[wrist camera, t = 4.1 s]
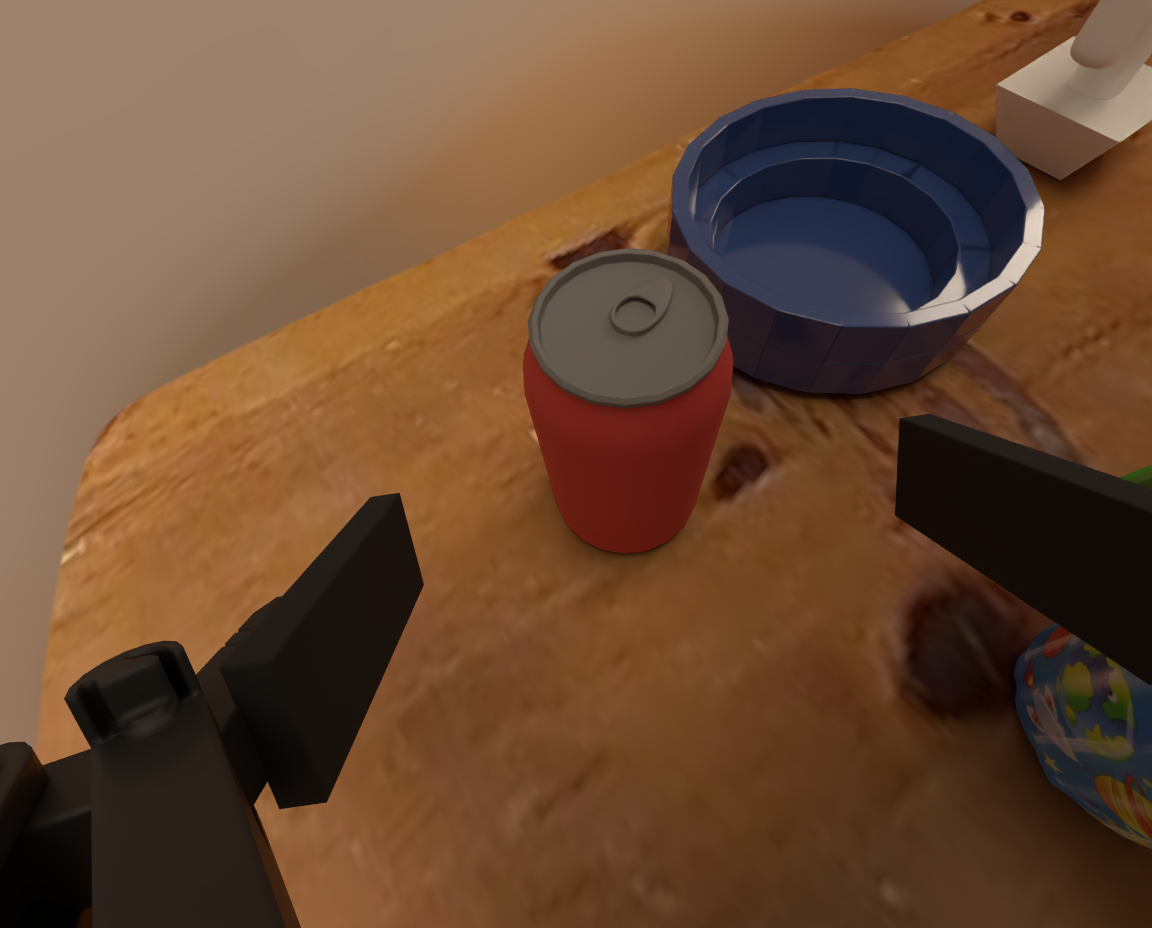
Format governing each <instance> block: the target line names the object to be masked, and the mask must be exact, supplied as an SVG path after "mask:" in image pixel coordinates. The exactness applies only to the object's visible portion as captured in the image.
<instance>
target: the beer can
mask: <svg viewBox="0 0 1152 928" xmlns="http://www.w3.org/2000/svg"><path fill="white" fill-rule="evenodd" d="M728 322H729V319H728V315H727V312H726V309H725V305H724V302H723V299H722V296H721V294H720V293H719V292H718V290H717V289H716V288H715V287H714V285H713V284H712V283H711V281H710V280H709V279H708V278H707V276H706V275H704V274H703V273H701V272H700V271H698V270H697V269H695V268H694V267H692V266H691V265H689V264H688V263H687V262H685V261H684V260H681V259H678V258H675V257H672V256H669V255H666V254H663V253H660V252H657V251H650V250H639V249H621V250H613V251H606V252H600V253H597V254H594V255H592V256H589V257H586V258H584V259H581V260H579V261H576V262H573V263H572V264H570V265H569V266H568V267H566V268H565V269H563V270H562V271H561V272H559V273H558V274H556V275H555V276H554V277H552V278H551V279H550V280H549V282H548V283H547V284H546V285H545V287H544V288H543V289H542V291H541V292H540V293H539V294H538V296H537V297H536V298H535V301H534V305H533V308H532V311H531V314H530V317H529V320H528V327H529V340H528V343H527V346H526V349H525V352H524V362H523V374H524V389H525V396H526V400H527V403H528V407H529V410H530V414H531V417H532V420H533V424H534V427H535V431H536V434H537V438H538V441H539V445H540V448H541V452H542V455H543V458H544V462H545V465H546V469H547V472H548V476H549V479H550V483H551V486H552V490H553V493H554V496H555V500H556V503H557V506H558V508H559V510H560V512H561V514H562V517H563V519H564V521H565V523H566V524H567V525H568V526H569V527H570V528H571V529H572V530H573V531H574V532H575V533H576V534H577V536H578V537H579V538H580V539H582V540H584V541H586V542H588V543H590V544H591V545H593V546H595V547H597V548H599V549H601V550H606V551H612V552H617V553H623V554H625V553H634V552H642V551H648V550H650V549H652V548H654V547H657V546H659V545H661V544H663V543H665V542H668V541H669V540H670V539H671V538H672V537H673V536H674V535H675V534H676V533H677V532H678V531H680V530H681V529H682V528H683V527H684V526H685V524H686V522H687V520H688V518H689V516H690V514H691V512H692V510H693V508H694V506H695V503H696V500H697V497H698V493H699V490H700V487H701V484H702V481H703V478H704V475H705V472H706V469H707V465H708V462H709V459H710V456H711V453H712V450H713V447H714V444H715V441H716V437H717V434H718V431H719V428H720V425H721V422H722V419H723V416H724V413H725V409H726V406H727V403H728V400H729V397H730V392H731V382H732V373H733V356H732V350H731V347H730V343H729V340H728V336H727V330H728Z"/></svg>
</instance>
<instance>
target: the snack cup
mask: <svg viewBox="0 0 1152 928" xmlns="http://www.w3.org/2000/svg"><path fill="white" fill-rule="evenodd" d="M1121 479H1124V480H1127V481H1130V482H1133V483H1136V484H1139V485H1142V486H1145V487H1148V488H1151V489H1152V465H1150V466H1148V467H1145V468H1142V469H1139V470H1137V471H1135V472H1132V473H1130V474H1128V475H1126V476H1123V477H1121ZM1013 676H1014V678H1015V679H1016V687H1017V692H1016V695H1015V703H1016V710H1017V713H1018V716H1019V719H1020V721H1021V723H1022V726H1023V728H1024V731H1025V733H1026V736H1027V738H1028V740H1029V742H1030V743H1031V744H1032V746H1033V747H1034V749H1035V752H1036V755H1037V757H1038V759H1039V762H1040V765H1041V766H1042V768H1043V770H1044V773H1045V775H1046V777H1047V779H1048V780H1049V782H1050V783H1051V784H1052V785H1054V786H1055V787H1056V788H1058V789H1059V790H1061V791H1063V792H1064V793H1065V794H1067V795H1068V796H1069V797H1070V798H1072V799H1073V800H1074V801H1075V802H1077V803H1078V804H1079V805H1080V806H1081V807H1082V808H1083V809H1084V810H1085V811H1087V812H1088V813H1089V814H1091V815H1092V816H1093V817H1095V818H1096V819H1097V820H1099V821H1100V822H1101V823H1103V824H1104V825H1105V826H1107V827H1109V828H1110V829H1112V830H1114V831H1115V832H1117V833H1119V834H1120V835H1122V836H1123V837H1125V838H1127V839H1129V840H1131V841H1134V842H1136V843H1138V844H1140V845H1143V846H1145V847H1147V848H1150V849H1152V685H1148V684H1147V683H1145V682H1144V681H1142V680H1141V679H1139V678H1138V677H1136V676H1135V675H1133V674H1132V673H1130V672H1129V671H1127V670H1126V669H1124V668H1123V667H1121V666H1120V665H1118V664H1117V663H1115V662H1114V661H1112V660H1111V659H1109V658H1108V657H1106V656H1105V655H1103V654H1102V653H1100V652H1099V651H1097V650H1096V649H1094V648H1093V647H1091V646H1090V645H1088V644H1087V643H1085V642H1084V641H1082V640H1081V639H1079V638H1078V637H1076V636H1075V635H1073V634H1072V633H1070V632H1069V631H1067V630H1066V629H1064V628H1063V627H1061V626H1060V625H1058V624H1057V623H1055V624H1052V625H1050V626H1049V627H1047V628H1045V629H1044V630H1043V631H1042V632H1041V633H1039V634H1038V635H1037V636H1036V637H1035V638H1034V639H1033V641H1032V642H1031V644H1030V645H1029V647H1028V648H1027V650H1026V651H1025V652H1024V653H1022V654H1021V655H1020V656H1019V657H1018V659H1017V661H1016V666H1015V671H1014V675H1013Z"/></svg>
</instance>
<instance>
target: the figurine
mask: <svg viewBox="0 0 1152 928" xmlns="http://www.w3.org/2000/svg"><path fill="white" fill-rule="evenodd" d="M1151 54H1152V0H1100V1H1099V3H1098V4H1097V6H1096V7H1095V9H1094V10H1093V12H1092V14H1091V15H1090V17H1089V18H1088V20H1087V21H1086V23H1085V24H1084V26H1083V27H1082V29H1081V30H1080V32H1079V33H1078V35H1077V37H1075V36H1074V37H1072V38H1070V39H1069V40H1067V41H1066V42H1064V43H1062V44H1061V45H1059V46H1057V47H1056V48H1054V49H1053V50H1051V51H1049V52H1048V53H1046V54H1045V55H1043V56H1041V57H1040V58H1038V59H1037V60H1035V61H1033V62H1032V63H1030V64H1029V65H1027V66H1025V67H1024V68H1022V69H1021V70H1019V71H1017V72H1016V73H1014V74H1012V75H1011V76H1009V77H1008V78H1006V79H1004V80H1003V81H1001V82H1000V83H998V84H997V91H996V138H998V140H999V141H1000V142H1001V143H1002V144H1003V145H1004V146H1005V147H1006V148H1007V149H1008V150H1009V151H1010V152H1011V153H1012V154H1013V155H1014V156H1015V157H1016V158H1018V159H1020V160H1022V161H1024V162H1026V163H1028V164H1030V165H1032V166H1034V167H1035V168H1037V169H1039V170H1041V171H1043V172H1045V173H1047V174H1049V175H1051V176H1053V177H1055V178H1056V179H1058V180H1062V179H1063V178H1065V177H1067V176H1068V175H1070V174H1071V173H1073V172H1074V171H1076V170H1078V169H1079V168H1081V167H1082V166H1084V165H1085V164H1087V163H1089V162H1090V161H1092V160H1093V159H1095V158H1096V157H1098V156H1099V155H1101V154H1103V153H1104V152H1106V151H1107V150H1109V149H1110V148H1112V147H1114V146H1115V145H1117V144H1118V143H1120V142H1121V141H1123V140H1124V139H1126V138H1127V137H1128V136H1130V135H1131V134H1133V133H1134V132H1135V131H1137V130H1138V129H1140V128H1141V127H1142V126H1144V125H1145V124H1147V123H1148V122H1150V121H1151V120H1152V68H1151V67H1149V66H1146V65H1144V63H1145V62H1146V60H1147V59H1148V58H1149V56H1150V55H1151Z"/></svg>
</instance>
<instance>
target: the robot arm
mask: <svg viewBox="0 0 1152 928" xmlns="http://www.w3.org/2000/svg"><path fill="white" fill-rule="evenodd" d="M895 516H897V517H898V518H900V519H901V520H903V521H904V522H906V523H907V524H909V525H910V526H912V527H913V528H915V529H916V530H918V531H919V532H921V533H922V534H924V535H925V536H927V537H928V538H930V539H931V540H933V541H934V542H936V543H937V544H939V545H940V546H942V547H943V548H945V549H946V550H948V551H949V552H951V553H952V554H954V555H955V556H957V557H958V558H960V559H961V560H963V561H964V562H966V563H967V564H969V565H970V566H972V567H973V568H975V569H976V570H978V571H979V572H981V573H982V574H984V575H985V576H987V577H988V578H990V579H991V580H993V581H994V582H996V583H997V584H999V585H1000V586H1002V587H1003V588H1005V589H1006V590H1008V591H1009V592H1011V593H1012V594H1014V595H1015V596H1017V597H1018V598H1020V599H1021V600H1023V601H1024V602H1026V603H1027V604H1028V605H1030V606H1031V607H1033V608H1034V609H1036V610H1037V611H1039V612H1040V613H1042V614H1043V615H1045V616H1046V617H1048V618H1049V619H1051V620H1052V621H1054V622H1055V623H1057V624H1058V625H1060V626H1061V627H1063V628H1064V629H1066V630H1067V631H1069V632H1070V633H1072V634H1073V635H1075V636H1076V637H1078V638H1079V639H1081V640H1082V641H1084V642H1085V643H1087V644H1088V645H1090V646H1091V647H1093V648H1094V649H1096V650H1097V651H1099V652H1100V653H1102V654H1103V655H1105V656H1106V657H1108V658H1109V659H1111V660H1112V661H1114V662H1115V663H1117V664H1118V665H1120V666H1121V667H1123V668H1124V669H1126V670H1127V671H1129V672H1130V673H1132V674H1133V675H1135V676H1136V677H1138V678H1139V679H1141V680H1142V681H1144V682H1145V683H1147V684H1148V685H1152V489H1151V488H1148V487H1145V486H1142V485H1139V484H1136V483H1133V482H1130V481H1127V480H1124V479H1121V478H1118V477H1115V476H1112V475H1109V474H1106V473H1103V472H1100V471H1097V470H1094V469H1091V468H1088V467H1085V466H1082V465H1079V464H1076V463H1074V462H1071V461H1068V460H1065V459H1062V458H1059V457H1056V456H1053V455H1050V454H1047V453H1044V452H1041V451H1038V450H1035V449H1032V448H1029V447H1026V446H1023V445H1020V444H1017V443H1014V442H1011V441H1008V440H1005V439H1002V438H999V437H996V436H993V435H990V434H987V433H984V432H981V431H978V430H975V429H972V428H969V427H966V426H963V425H960V424H957V423H954V422H951V421H948V420H945V419H942V418H939V417H936V416H933V415H930V414H926V415H920V416H913V417H906V418H900V422H899V443H898V465H897V486H896V507H895ZM423 586H424V583H423V579H422V575H421V572H420V568H419V564H418V560H417V557H416V553H415V549H414V545H413V542H412V538H411V534H410V530H409V527H408V523H407V519H406V515H405V512H404V508H403V504H402V500H401V497H400V493H395V494H388V495H382V496H375V497H370V498H369V499H368V501H367V502H366V503H365V504H364V505H363V506H362V507H361V508H360V510H359V511H358V512H357V513H356V514H355V515H354V516H353V517H352V519H351V520H350V521H349V522H348V523H347V524H346V525H345V526H344V528H343V529H342V530H341V531H340V532H339V533H338V534H337V535H336V537H335V538H334V539H333V540H332V541H331V542H330V543H329V544H328V546H327V547H326V548H325V549H324V550H323V551H322V552H321V553H320V555H319V556H318V557H317V558H316V559H315V560H314V561H313V562H312V564H311V565H310V566H309V567H308V568H307V569H306V570H305V571H304V573H303V574H302V575H301V576H300V577H299V578H298V579H297V580H296V582H295V583H294V584H293V585H292V586H291V587H290V588H289V589H288V591H287V592H286V593H285V594H284V595H283V596H281V597H276V598H275V599H274V600H272V601H271V602H269V603H268V604H266V605H265V606H263V607H262V608H260V609H259V610H257V611H256V612H254V613H253V614H252V615H251V616H250V618H249V619H248V620H247V621H246V622H245V623H244V624H243V625H242V626H241V627H240V628H239V629H238V633H235V634H234V635H233V636H232V637H231V638H230V639H229V640H228V641H227V642H226V643H225V647H222V648H221V649H220V650H219V651H218V652H217V653H216V654H215V655H214V656H213V657H212V658H211V659H210V660H209V662H208V663H207V664H206V665H205V666H204V667H203V668H202V669H201V670H200V671H199V672H198V673H197V674H195V672H194V670H193V668H192V666H191V663H190V661H189V659H188V657H187V654H186V652H185V650H184V648H183V646H182V645H181V644H179V643H178V642H177V641H160V642H156V643H151V644H146V645H143V646H140V647H137V648H134V649H132V650H129V651H126V652H123V653H121V654H119V655H117V656H115V657H113V658H111V659H109V660H107V661H105V662H103V663H101V664H100V665H98V666H97V667H95V668H94V669H92V670H91V671H89V672H88V673H86V674H84V675H83V676H82V677H81V678H80V679H79V680H78V681H77V682H75V683H74V684H73V685H72V686H71V687H70V688H69V690H68V692H67V694H66V696H65V698H64V700H65V701H66V703H67V705H68V707H69V709H70V710H71V712H72V714H73V716H74V718H75V720H76V721H77V723H78V725H79V727H80V729H81V730H82V732H83V734H84V736H85V738H86V740H87V741H88V743H89V745H90V747H91V749H89V750H86V751H83V752H80V753H77V754H75V755H72V756H69V757H66V758H63V759H60V760H57V761H54V762H51V763H48V764H45V765H42V764H41V762H40V761H39V759H38V757H37V756H36V754H35V752H34V751H33V749H32V747H31V746H29V745H28V744H27V743H25V742H12V743H11V742H9V743H6V744H2V745H0V928H301V926H300V924H299V921H298V918H297V916H296V913H295V910H294V908H293V905H292V902H291V900H290V897H289V894H288V892H287V889H286V886H285V884H284V881H283V878H282V876H281V873H280V870H279V868H278V865H277V862H276V860H275V857H274V854H273V852H272V849H271V846H270V844H269V841H268V838H267V836H266V833H265V830H264V828H263V825H262V822H261V820H260V818H259V815H258V813H257V811H256V809H255V806H254V804H255V802H256V800H257V799H258V797H259V795H260V793H261V792H262V790H263V788H264V787H265V785H266V783H267V781H268V783H269V786H270V788H271V790H272V793H273V795H274V797H275V800H276V802H277V804H278V807H279V809H284V808H291V807H298V806H305V805H312V804H319V803H326V802H327V801H328V798H329V796H330V794H331V792H332V789H333V787H334V785H335V783H336V780H337V778H338V776H339V774H340V772H341V769H342V767H343V765H344V763H345V760H346V758H347V756H348V754H349V751H350V749H351V747H352V745H353V742H354V740H355V738H356V736H357V733H358V731H359V729H360V727H361V724H362V722H363V720H364V718H365V715H366V713H367V711H368V709H369V707H370V704H371V702H372V700H373V698H374V695H375V693H376V691H377V689H378V686H379V684H380V682H381V680H382V677H383V675H384V673H385V671H386V668H387V666H388V664H389V662H390V659H391V657H392V655H393V653H394V650H395V648H396V646H397V644H398V642H399V639H400V637H401V635H402V633H403V630H404V628H405V626H406V624H407V621H408V619H409V617H410V615H411V612H412V610H413V608H414V606H415V603H416V601H417V599H418V597H419V594H420V592H421V590H422V588H423Z"/></svg>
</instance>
